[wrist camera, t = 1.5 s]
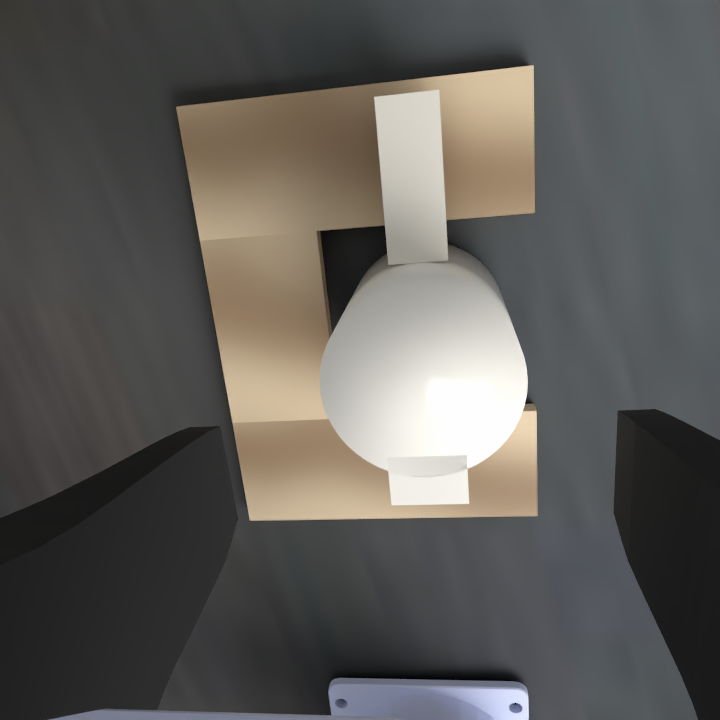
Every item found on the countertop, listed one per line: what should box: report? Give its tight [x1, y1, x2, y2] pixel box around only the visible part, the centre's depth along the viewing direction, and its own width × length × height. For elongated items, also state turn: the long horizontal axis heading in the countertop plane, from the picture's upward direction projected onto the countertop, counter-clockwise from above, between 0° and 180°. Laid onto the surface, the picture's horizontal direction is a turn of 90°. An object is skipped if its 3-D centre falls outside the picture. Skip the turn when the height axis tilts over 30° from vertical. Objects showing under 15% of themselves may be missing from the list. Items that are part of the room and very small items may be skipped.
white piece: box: [319, 90, 528, 505], centre depth 18 cm, size 10×5×6 cm, turn 6°
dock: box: [176, 65, 537, 521], centre depth 21 cm, size 14×10×1 cm
